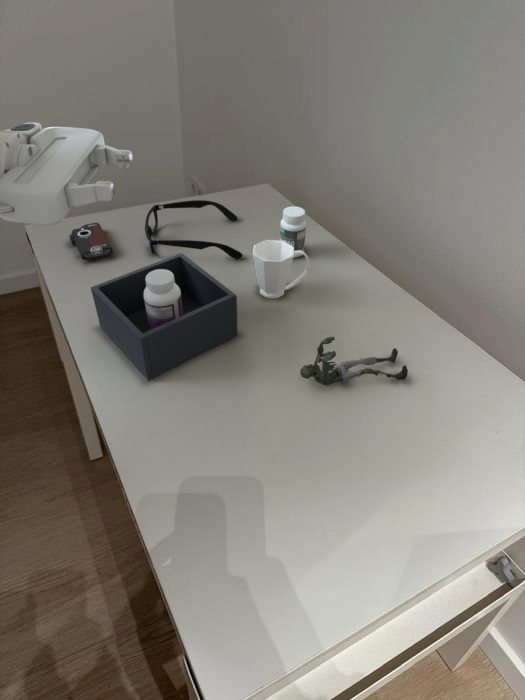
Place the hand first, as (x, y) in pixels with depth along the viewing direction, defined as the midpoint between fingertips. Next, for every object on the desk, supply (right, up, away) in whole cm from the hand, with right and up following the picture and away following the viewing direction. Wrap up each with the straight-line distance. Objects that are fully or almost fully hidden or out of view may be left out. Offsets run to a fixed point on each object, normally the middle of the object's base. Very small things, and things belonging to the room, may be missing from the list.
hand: (122, 174), depth 62 cm
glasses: (+4, 0, +38) cm, 39 cm away
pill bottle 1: (+2, -18, +17) cm, 25 cm away
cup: (+20, -11, +27) cm, 35 cm away
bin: (+2, -18, +18) cm, 26 cm away
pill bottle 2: (+22, -3, +36) cm, 42 cm away
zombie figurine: (+29, -25, +11) cm, 40 cm away
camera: (-16, -2, +36) cm, 39 cm away
